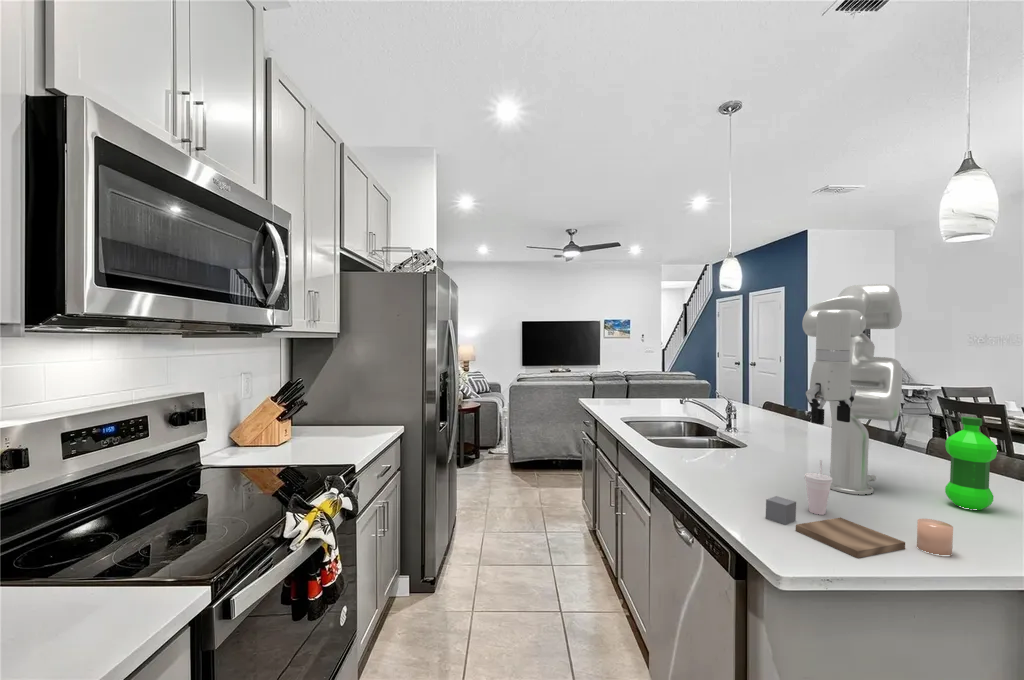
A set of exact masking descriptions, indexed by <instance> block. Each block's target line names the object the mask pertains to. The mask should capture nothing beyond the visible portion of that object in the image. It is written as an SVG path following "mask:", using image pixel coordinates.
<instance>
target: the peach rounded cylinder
mask: <svg viewBox="0 0 1024 680" xmlns="http://www.w3.org/2000/svg"><path fill="white" fill-rule="evenodd" d="M916 527H917V528H916V529H917V530H916V548H917V547H918V548H919V549H921V550H923V551H926V552H929V553H933V554H939V555H951V554H952V555H953V545H954V543H953V541H954V540H953V539H954V526H953V525H951V524H950V523H947V522H944V521H940V520H937V519H932V518H918V519H917V526H916ZM918 548H917V549H918ZM919 549H918V550H919ZM921 550H920V551H921ZM923 551H922V552H923Z"/></svg>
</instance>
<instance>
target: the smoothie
mask: <svg viewBox="0 0 1024 680" xmlns="http://www.w3.org/2000/svg"><path fill="white" fill-rule="evenodd" d="M804 479H805V483H806V492H807V502H808V510H809V512H810V514H811V513H812V514H813V513H814V515H818V514H819V516H824V514H825V515H826V512H827V508H828V507H827V506H828V504H829V503H828V501H829V498H830V497H829V496H830V490H831V489H830V486H831V483H832V482H833V481H832V477H830V475H827V474H823V460H819V472H818V473H815V472H807V473H805V474H804Z"/></svg>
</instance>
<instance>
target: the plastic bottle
mask: <svg viewBox="0 0 1024 680" xmlns="http://www.w3.org/2000/svg"><path fill="white" fill-rule="evenodd" d="M960 424H961V425H963V429H962V430H959V431H957V432H955V433H953V434H952V435H950V436H948V437H947V439H946V440H945V442H944V443H945V444H944V445H945V450H946V452H947V454H949V456H950V471H949V472H950V474H949V482H948V483H947V484H946V485H945V489H944V492H945V495H946V497H947V498H948V499H949V500H950V502H951V503H953V504H954V505H955V506H956V505H958V506H961V507H964V508H969V509H977V510H980V511H982V510H983V509H985V508H988V507H990V506H991V505H992V504H993V502H994V494H993V492H992V490H991V488H990V467H991V462H992V461H993V460H995V459H996V458H997V454H998V448H997V445H996V443H995V442H993V440H991V439H990V438H989V437H988V436H986V435H985V434H983V432H981V430H980V427H981V426H983V418H980V417H975V416H961V417H960Z"/></svg>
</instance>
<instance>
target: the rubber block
mask: <svg viewBox="0 0 1024 680" xmlns="http://www.w3.org/2000/svg"><path fill="white" fill-rule="evenodd" d="M765 519H766V520H769V521H772V522H776V523H779V524H781V525H784V526H787V525H790V524H792V523H794V522H796V521H797V501H795V500H791V499H788V498H784V497H781V496H778V495H776V496H772V497H769V498H767V499H765Z"/></svg>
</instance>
